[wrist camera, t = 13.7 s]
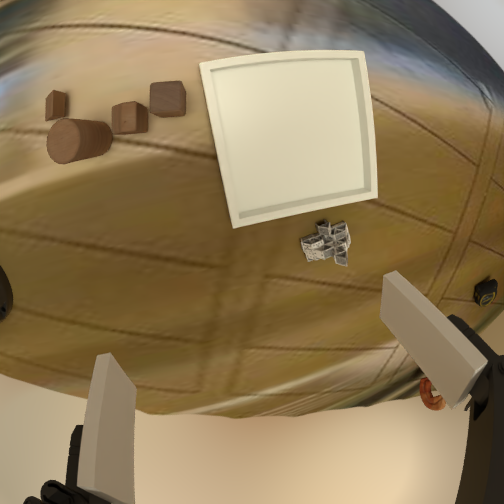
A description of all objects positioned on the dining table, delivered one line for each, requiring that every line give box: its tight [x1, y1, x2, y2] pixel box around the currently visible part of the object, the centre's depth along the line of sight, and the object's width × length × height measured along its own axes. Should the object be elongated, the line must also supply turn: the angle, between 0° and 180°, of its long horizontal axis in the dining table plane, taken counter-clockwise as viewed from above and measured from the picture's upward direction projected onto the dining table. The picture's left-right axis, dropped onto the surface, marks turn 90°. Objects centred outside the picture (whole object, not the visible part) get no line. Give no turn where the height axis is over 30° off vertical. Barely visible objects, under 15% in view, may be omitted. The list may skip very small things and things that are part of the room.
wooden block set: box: [45, 81, 186, 164], centre depth 25 cm, size 18×9×10 cm, turn 88°
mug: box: [420, 377, 446, 410], centre depth 58 cm, size 15×8×15 cm, turn 155°
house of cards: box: [300, 220, 351, 266], centre depth 38 cm, size 9×9×8 cm
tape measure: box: [474, 279, 498, 307], centre depth 55 cm, size 7×7×4 cm
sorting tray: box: [199, 50, 378, 228], centre depth 33 cm, size 20×20×3 cm
